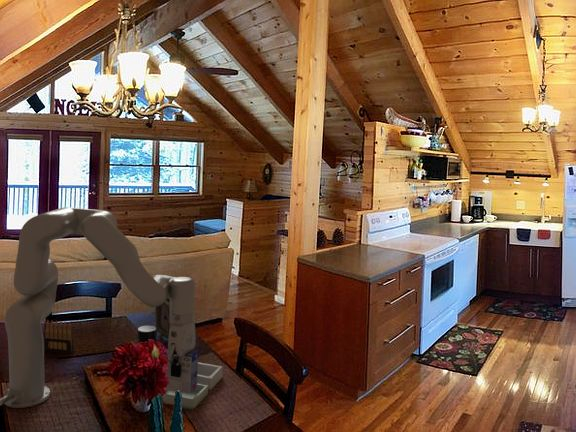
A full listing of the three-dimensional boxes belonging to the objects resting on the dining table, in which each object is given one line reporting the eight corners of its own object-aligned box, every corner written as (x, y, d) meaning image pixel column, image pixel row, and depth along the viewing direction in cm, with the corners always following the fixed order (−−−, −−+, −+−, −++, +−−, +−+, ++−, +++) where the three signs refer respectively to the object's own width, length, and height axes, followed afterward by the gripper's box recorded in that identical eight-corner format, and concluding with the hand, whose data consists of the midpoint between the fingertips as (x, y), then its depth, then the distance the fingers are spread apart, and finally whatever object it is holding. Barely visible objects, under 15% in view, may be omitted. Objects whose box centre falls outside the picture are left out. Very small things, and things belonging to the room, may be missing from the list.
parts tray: (193, 409, 148) (193, 400, 147) (151, 401, 151) (151, 392, 151) (207, 394, 158) (208, 385, 157) (168, 386, 161) (168, 377, 161)
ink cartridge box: (198, 386, 156) (199, 343, 154) (191, 394, 150) (192, 350, 148) (169, 382, 158) (170, 339, 156) (161, 390, 152) (162, 346, 150)
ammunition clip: (44, 350, 184) (43, 320, 183) (47, 348, 186) (46, 318, 184) (70, 353, 183) (70, 322, 181) (73, 351, 185) (73, 321, 183)
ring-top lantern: (155, 337, 202) (156, 279, 199) (175, 333, 208) (176, 276, 205) (169, 349, 191) (170, 287, 188) (190, 345, 196) (192, 285, 193)
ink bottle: (133, 355, 184) (133, 325, 182) (156, 352, 187) (157, 322, 186) (136, 366, 175) (136, 334, 173) (161, 363, 179) (161, 331, 177)
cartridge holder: (210, 389, 161) (211, 378, 160) (173, 382, 164) (173, 371, 164) (222, 377, 170) (222, 366, 169) (187, 370, 173) (187, 360, 173)
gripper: (179, 327, 142) (178, 386, 144) (204, 310, 158) (203, 363, 161) (156, 324, 144) (155, 382, 146) (184, 307, 160) (182, 359, 163)
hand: (180, 371), depth 153 cm, fingers closed on ink cartridge box, 5 cm apart
